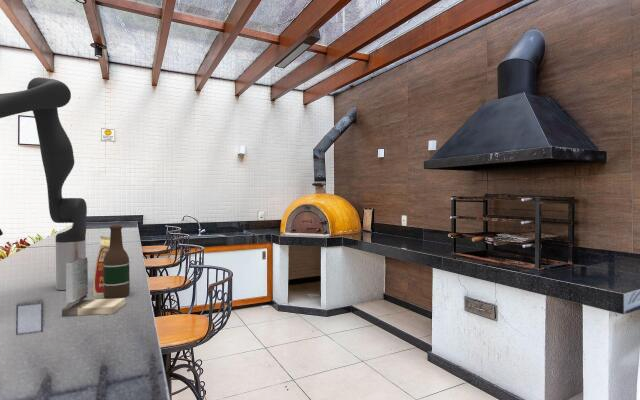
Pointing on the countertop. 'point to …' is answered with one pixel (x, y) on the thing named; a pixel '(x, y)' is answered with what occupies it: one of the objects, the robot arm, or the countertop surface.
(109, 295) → the beer bottle
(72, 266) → the slab
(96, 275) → the milk carton
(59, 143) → the robot arm
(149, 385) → the countertop surface
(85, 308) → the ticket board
